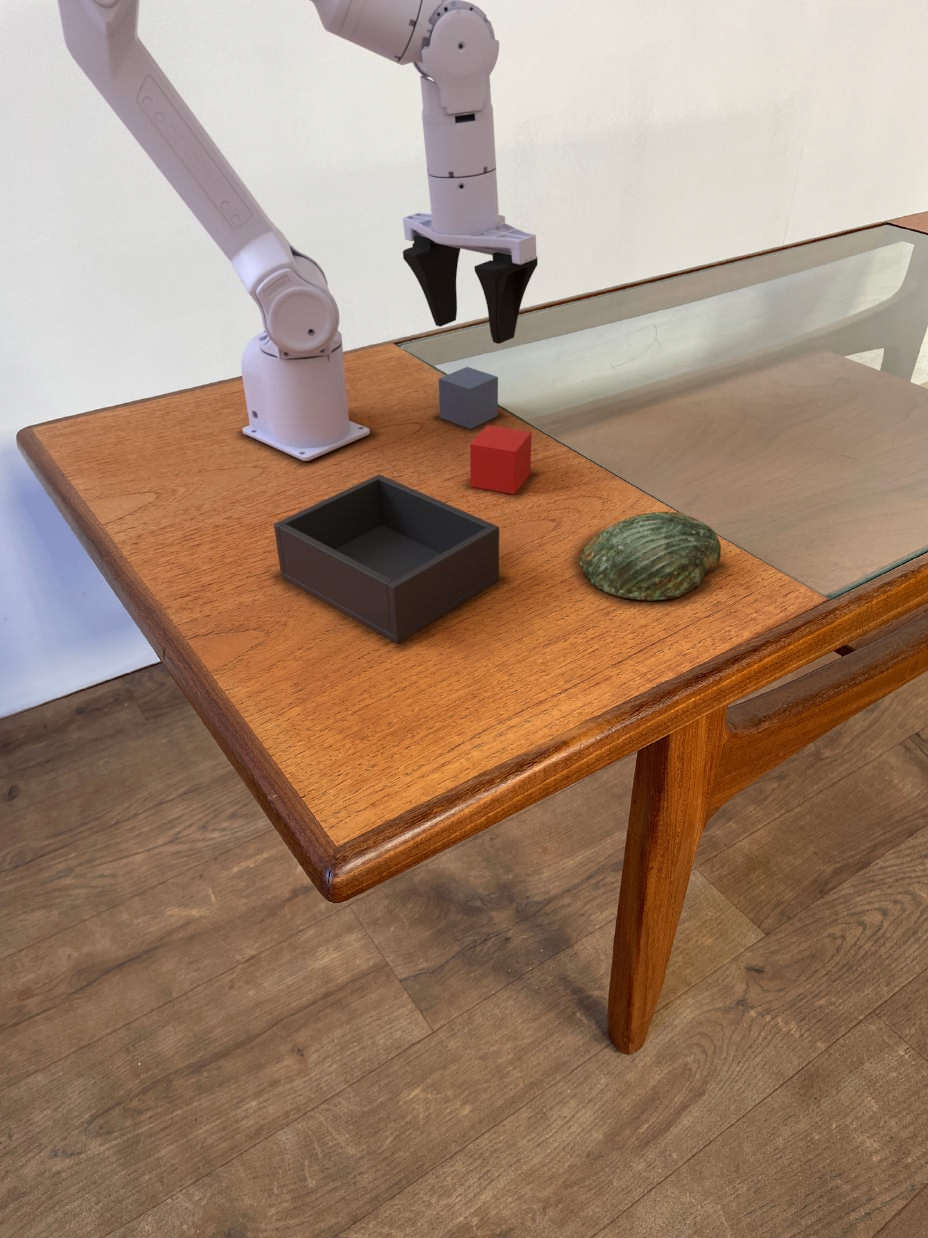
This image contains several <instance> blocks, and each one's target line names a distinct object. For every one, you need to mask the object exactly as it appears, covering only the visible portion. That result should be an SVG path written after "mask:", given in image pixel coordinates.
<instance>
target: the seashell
mask: <svg viewBox="0 0 928 1238" xmlns="http://www.w3.org/2000/svg"><path fill="white" fill-rule="evenodd" d="M721 554H722V545H721V542H720V539H719V537H718V534H717V533H716V532H715V530H714V529H712V527H710V525H708V524H706V523H705V522H703V521H701V520H700V519H697V518H695V517H693V516H690V515H687V514H683V513H680V512H674V511H655V512H648V513H642V514H638V515H634V516H631V517H628V518H625V519H623V520H620V521H618V522H616V523H614V524H611V525H610V526H608V527H607V528H605V529H604V530H602V531H600V532H599V533H598V534H596V535H595V536H594V537H593V538H591V540H590V541H589V542H588V543H587V545H586V546H585V547H584V549H583V553H582V555H581V556H580V559H581V560H580V562H579V566H581V567H582V572H583V573H584V576H585V577H586V578H587V579H588V580H590V583H591V584H592V586H594V587H595V588H596V589H597V590H602V591H603V592H605V593H608V594H610V595H614V596H616V597H620V598H624V599H631V600H638V601H648V602H649V601H662V600H671V599H676V598H679V597H681V596H683V595H685V594H687V593H688V592H691V591H692V590H693V589H694V588H696V587H697V588H698V587H699V586H700V585H701V584H702V582H703V578H705V575H706V573H708V572H709V571H715V570H716V569H717V567H718V565H719V563H720V560H721Z"/></svg>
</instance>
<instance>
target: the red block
mask: <svg viewBox="0 0 928 1238" xmlns="http://www.w3.org/2000/svg"><path fill="white" fill-rule="evenodd" d="M532 436H533V435H532V431H528V430H523V429H522V430H521V429H516V428H515V429H514V428H509V427H503V426H496V425H490V424H487V425H486V426H485V427H484V428H483V429H482V430H481V432H480V433H479V434H478V435H476V437H474V439H473V440H472V441H471V442H470V444H469V448H470V449H469V451H470V452H469V454H470V455H469V456H470V464H469V465H470V487H471V488H476V489H482V490H485V491H486V490H487V491H493V492H496V493H497V492H498V493H504V494H509V495H516V493H517V492H518V491H519V490H520V488H521V487H522V486H523V485H524V484H525V482H526V481H527V479H528V478H530V475H531V470H532V469H531V467H532V466H531V465H532V464H531V463H532V461H531V460H532V438H533V437H532Z"/></svg>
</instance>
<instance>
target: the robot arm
mask: <svg viewBox="0 0 928 1238" xmlns="http://www.w3.org/2000/svg"><path fill="white" fill-rule="evenodd" d="M140 1H141V0H57V1H56V2H57V5H58V12H59V17H60V23H61V29H62V35H63V39H64V43H65V47H66V48H67V51H68V52H69V54H70V56H71V58H72V59H73V60H74V62H75V63H76V64H77V66H78V67H79V68H80V69H81V70H82V72H83V74H84V75H85V76H86V77H87V79H88V80H89V81H90V82H91V84H92V85H93V86H94V88H95V89H96V90H97V91H98V93H99V94H100V96H101V97H102V98H103V99H104V100H105V102H106V104H108V105H109V107H110V108H111V110H112V111H113V112H114V114H115V115H116V116H117V117H118V119H119V120H120V122H122V124H123V125H124V126H125V127H126V129H127V130H128V131H129V133H130V134H131V135H132V136H133V138H134V139H135V141H136V142H137V143H138V145H139V146H140V147H141V148H142V149H143V151H144V152H145V154H146V155H147V156H148V157H149V158H150V160H151V161H152V162H153V164H154V165H155V166H156V168H157V169H158V170H159V172H160V173H161V174H162V175H163V177H164V178H165V179H166V180H167V183H169V185H171V187H172V188H173V189H174V191H175V192H176V193H177V195H178V197H179V198H180V199H181V200H182V202H184V204H185V205H186V206H187V208H188V209H189V210H190V212H191V213H192V214H193V215H194V217H195V218H196V219H197V221H198V222H199V223H200V224H201V226H202V227H203V229H204V230H205V231H206V233H208V235H209V236H210V238H211V239H212V240H213V241H214V243H215V244H216V245H217V246H218V248H219V249H220V250H221V252H222V253H223V255H224V256H225V257H226V258H227V260H228V261H229V262H230V264H231V265H232V267H233V269H234V271H235V272H236V275H237V276H238V278H239V279H240V281H241V283H242V286H243V287H244V288H245V291H247V293H248V294H249V296H250V297H251V299H252V300H253V301H254V302H255V305H257V307H258V310H259V313H260V316H261V321H262V327H263V331H262V332H260V333H258V334H256V335H255V336H253V337H252V339H250V341H248V343H247V344H246V346H245V347H244V350H243V352H242V353H243V354H242V357H241V363H240V369H241V376H242V384H243V390H244V396H245V397H244V398H245V403H246V410H247V416H248V423H249V424H248V425H246V426H244V427H242V429H241V430H242V434H244V435H246V436H248V437H250V438H252V439H255V440H257V441H259V442H261V443H264V444H266V445H268V446H270V447H272V448H274V449H276V450H279V451H281V452H283V453H285V454H287V455H290V456H292V457H294V458H297V459H298V460H301V461H303V462H309V461H312V460H314V459H317V458H318V457H321V456H323V455H325V454H329V453H330V452H333V451H335V450H337V449H340V448H341V447H344V446H346V445H349V444H351V443H353V442H355V441H357V440H360V439H362V438H365V437H366V436H369V435H370V434H371V430H370V428H368V427H366V426H363V425H361V424H358V423H357V422H354V421H351V420H350V418H349V407H348V406H349V405H348V393H347V383H346V382H347V381H346V372H345V371H346V370H345V360H344V349H343V348H344V347H343V335H342V333H341V332H340V331H339V326H340V310H339V306H338V303H337V301H336V299H335V297H334V295H333V294H332V293H331V291H330V289H329V286H328V280H327V276H326V274H325V272H324V270H323V269H322V267H321V265H320V264H319V263H318V262H317V261H316V260H314V259H313V258H312V257H310V256H309V255H307V254H305V253H303V252H301V251H299V250H298V249H297V248H296V247H295V246H294V245H292V243H290V241H289V239H287V237H286V236H285V234H284V233H283V232H282V231H281V230H280V229H279V227H277V225H276V224H275V223H274V222H273V221H272V220H271V219H270V217H269V216H268V215H267V213H266V212H265V210H264V209H263V208H262V206H261V205H260V203H259V202H258V201H257V199H256V198H255V197H254V195H253V194H252V193H251V191H250V190H249V188H248V187H247V186H246V184H245V183H244V181H243V180H242V179H241V177H240V176H239V175H238V173H237V172H236V170H235V169H234V167H233V166H232V165H231V163H230V162H229V161H228V159H227V158H226V156H225V155H224V154H223V153H222V151H221V149H220V148H219V147H218V145H217V144H216V143H215V141H214V140H213V138H212V137H211V136H210V134H209V133H208V131H207V130H206V129H205V128H204V126H203V125H202V123H201V122H200V120H199V119H198V118H197V116H196V115H195V113H194V112H193V111H192V109H191V108H190V107H189V105H188V104H187V102H186V101H185V100H184V98H183V97H182V96H181V94H180V93H179V92H178V90H177V88H175V86H174V84H173V83H172V82H171V80H170V79H169V78H168V76H167V75H166V73H165V72H164V71H163V70H162V68H161V67H160V65H159V64H158V62H157V61H156V60H155V58H154V57H153V56H152V54H151V53H150V51H149V50H148V49H147V48H146V46H145V44H144V43H143V42H142V40H141V39H140V37H139V34H138V29H139V28H138V26H139V13H140ZM309 1H311V2H312V4H313V6H314V7H315V10H316V12H317V14H318V16H319V19H320V22H321V25H322V27H323V28H324V30H325V31H326V32H329V33H330V34H333V35H334V36H337V37H339V38H341V39H343V40H345V41H348V42H350V43H352V44H354V45H356V46H359V47H361V48H363V49H365V50H367V51H369V52H372V53H374V54H377V56H380V57H383V58H385V59H387V60H389V61H391V62H394V63H396V64H398V65H400V66H405V65H409V64H412V65H413V67H414V69H415V70H416V71H417V72H418V73H419V74H420V76H419V80H420V89H421V100H422V101H421V102H422V110H421V121H422V130H423V131H422V132H423V140H424V141H423V142H424V151H425V161H426V162H425V163H426V172H427V184H428V192H429V204H430V211H431V212H430V213H423V212H416V213H413V214H410V215H407V216H404V217H402V225H403V235H404V240H405V241H410V242H413V243H412V244H411V245H412V246H411V247H408V248H405V249H403V251H402V256H403V257H402V258H403V260H404V261H405V263H406V264H407V266H408V267H409V268H410V270H411V271H412V273H413V275H414V276H415V278H416V279H417V281H418V283H419V284H418V285H420V288H421V290H422V293H423V295H424V297H425V299H426V303H427V305H428V308H429V311H430V313H431V316H432V319H433V321H434V325H435V326H436V327H440V328H441V327H444V326H445V325H449V324H450V323H453V322H455V321H457V314H458V313H457V312H458V295H457V274H458V266H459V265H458V264H459V259H460V253H461V250H466V251H470V252H474V253H479V254H484V255H489V256H492V259H490V260H487V261H485V262H482V263H479V264H476V265H474V273H475V274H476V277H477V279H478V281H479V284H480V286H481V289H482V291H483V294H484V298H485V299H484V300H485V303H486V306H487V307H486V308H487V315H488V322H489V331H490V337H491V339H492V342H493V343H494V344H498V345H499V344H503V343H505V342H507V341H509V340H511V339H514V338H515V334H516V329H517V324H518V318H519V314H520V309H521V305H522V302H523V298H524V295H525V292H526V289H527V287H528V285H529V282H530V280H531V278H532V276H533V274H534V272H535V270H536V268H537V267H538V261H539V260H538V256H537V235H536V234H534V233H530V232H527V231H523V230H521V229H519V228H517V227H515V226H512V225H510V224H508V223H507V222H506V216H505V215H502V214H500V213H499V212H500V211H499V195H498V178H497V158H496V157H497V156H496V141H495V139H496V137H495V124H494V123H495V122H494V108H493V104H492V93H491V91H492V90H491V76H490V75H491V74H492V72H493V71H494V69H495V67H496V64H497V61H498V57H499V52H500V41H499V40H498V39H496V35H495V30H494V27H493V24H492V23H491V21H490V20H489V19H488V17H487V14H486V13H485V11H483V9H481V8H480V7H479V6H478V5H475V3H472V2H469V1H465V0H309Z"/></svg>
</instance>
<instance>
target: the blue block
mask: <svg viewBox="0 0 928 1238" xmlns="http://www.w3.org/2000/svg"><path fill="white" fill-rule="evenodd" d="M438 401H439V403H438V404H439V405H438V406H439V407H438V408H439V419H442V420H444V421H447V422H450V423H453V424H455V425H458V426H460V427H463V428H466V429H468V430H471V429H474V428H476V427H477V426H480V425H482V424H484V423H486V422H488V421H490V420H492V419H493V420H494V418H497V417H498V415H499V376H497V375H495V374H490V373H488V372H484V371H481V370H478V369H475V368H473V367H470V366H465V367H463V368H460V369H458V370H456V371H454V372H453V371H452V372H451V373H449V374H446V375H444V376H441V377H439V378H438Z"/></svg>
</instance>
